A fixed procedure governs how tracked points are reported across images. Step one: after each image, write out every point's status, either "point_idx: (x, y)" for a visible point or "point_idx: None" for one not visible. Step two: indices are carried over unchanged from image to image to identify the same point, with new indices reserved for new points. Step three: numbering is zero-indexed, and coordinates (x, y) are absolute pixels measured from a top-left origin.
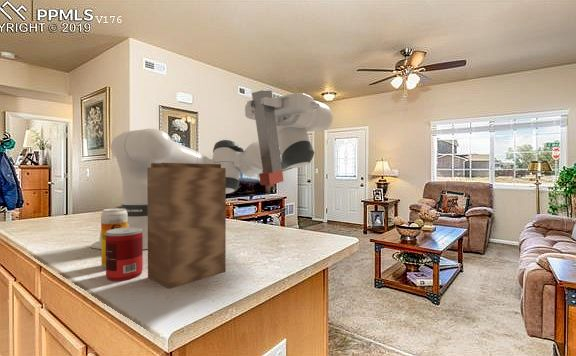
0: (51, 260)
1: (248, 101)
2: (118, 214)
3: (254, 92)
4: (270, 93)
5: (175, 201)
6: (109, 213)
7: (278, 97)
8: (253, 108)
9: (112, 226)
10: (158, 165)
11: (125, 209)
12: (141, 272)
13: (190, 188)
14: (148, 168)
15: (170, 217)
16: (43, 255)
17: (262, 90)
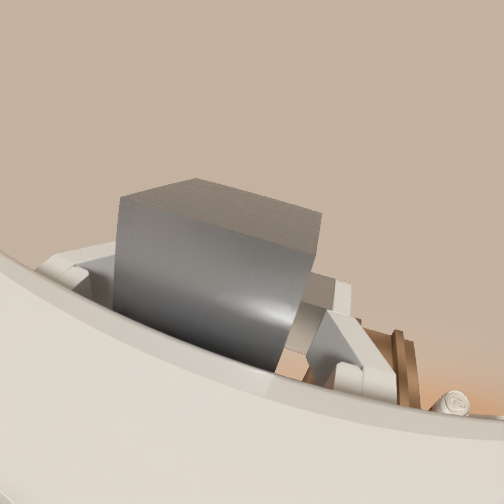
0: (473, 415)
1: (333, 280)
2: (440, 404)
3: (284, 204)
4: (132, 227)
5: (309, 371)
6: (445, 394)
7: (46, 278)
8: (304, 348)
9: (431, 408)
10: (393, 340)
11: (453, 413)
12: None
13: (312, 382)
14: (408, 341)
15: (303, 380)
16: (495, 416)
17: (192, 179)
